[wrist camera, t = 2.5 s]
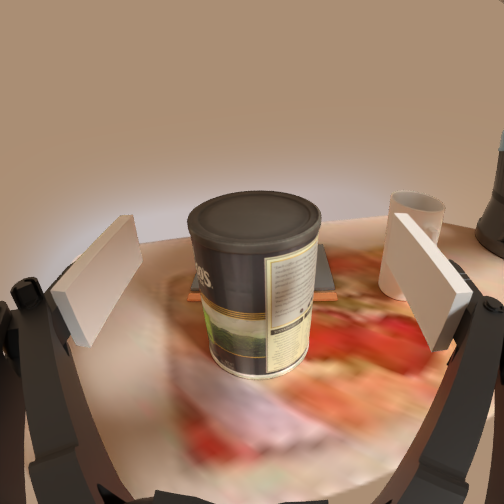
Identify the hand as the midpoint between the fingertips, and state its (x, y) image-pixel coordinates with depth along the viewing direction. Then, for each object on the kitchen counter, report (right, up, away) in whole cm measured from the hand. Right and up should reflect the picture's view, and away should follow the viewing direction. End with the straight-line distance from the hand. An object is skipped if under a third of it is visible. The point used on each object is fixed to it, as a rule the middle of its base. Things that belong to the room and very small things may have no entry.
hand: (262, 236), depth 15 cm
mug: (+19, -6, +21) cm, 28 cm away
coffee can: (0, -10, +16) cm, 19 cm away
